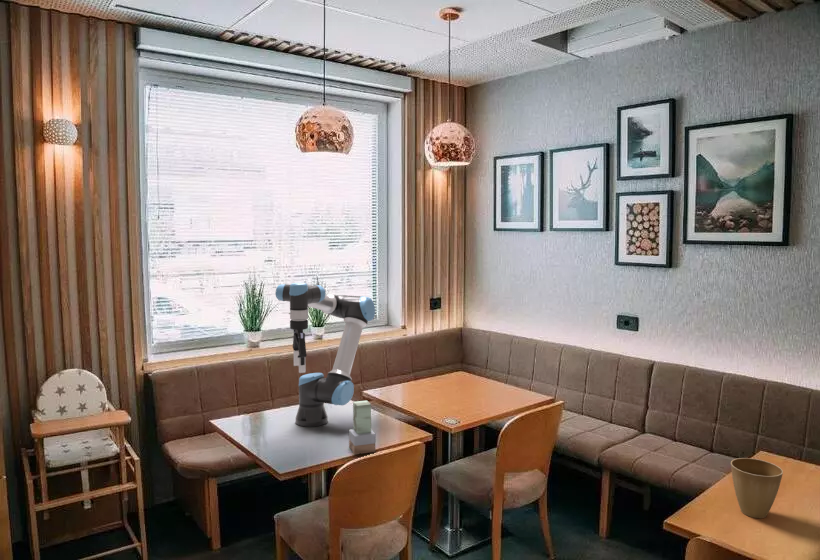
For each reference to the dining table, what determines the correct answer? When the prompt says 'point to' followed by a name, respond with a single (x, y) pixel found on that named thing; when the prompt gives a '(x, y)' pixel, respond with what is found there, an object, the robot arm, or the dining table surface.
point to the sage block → (362, 417)
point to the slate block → (362, 438)
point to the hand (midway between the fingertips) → (299, 369)
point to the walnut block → (362, 448)
